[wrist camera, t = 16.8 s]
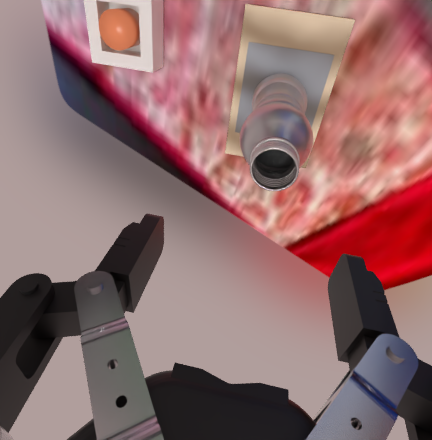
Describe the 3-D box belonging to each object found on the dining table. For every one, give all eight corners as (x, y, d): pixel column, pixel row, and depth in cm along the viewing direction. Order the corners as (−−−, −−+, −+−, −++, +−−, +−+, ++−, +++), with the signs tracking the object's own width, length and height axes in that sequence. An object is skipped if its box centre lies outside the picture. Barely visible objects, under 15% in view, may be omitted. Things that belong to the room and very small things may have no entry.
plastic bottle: (275, 133, 40) (268, 220, 25) (243, 94, 38) (212, 163, 23) (317, 100, 37) (339, 178, 21) (284, 55, 35) (281, 106, 19)
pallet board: (247, 3, 34) (245, 4, 32) (352, 18, 33) (355, 19, 32) (226, 149, 45) (224, 153, 44) (305, 163, 44) (305, 168, 43)
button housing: (99, -18, 35) (81, -19, 32) (163, -9, 35) (151, -9, 32) (107, 57, 40) (92, 62, 37) (163, 66, 40) (153, 72, 36)
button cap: (113, 5, 36) (96, 6, 32) (144, 10, 35) (130, 11, 32) (116, 43, 38) (101, 47, 35) (146, 48, 38) (133, 53, 35)
